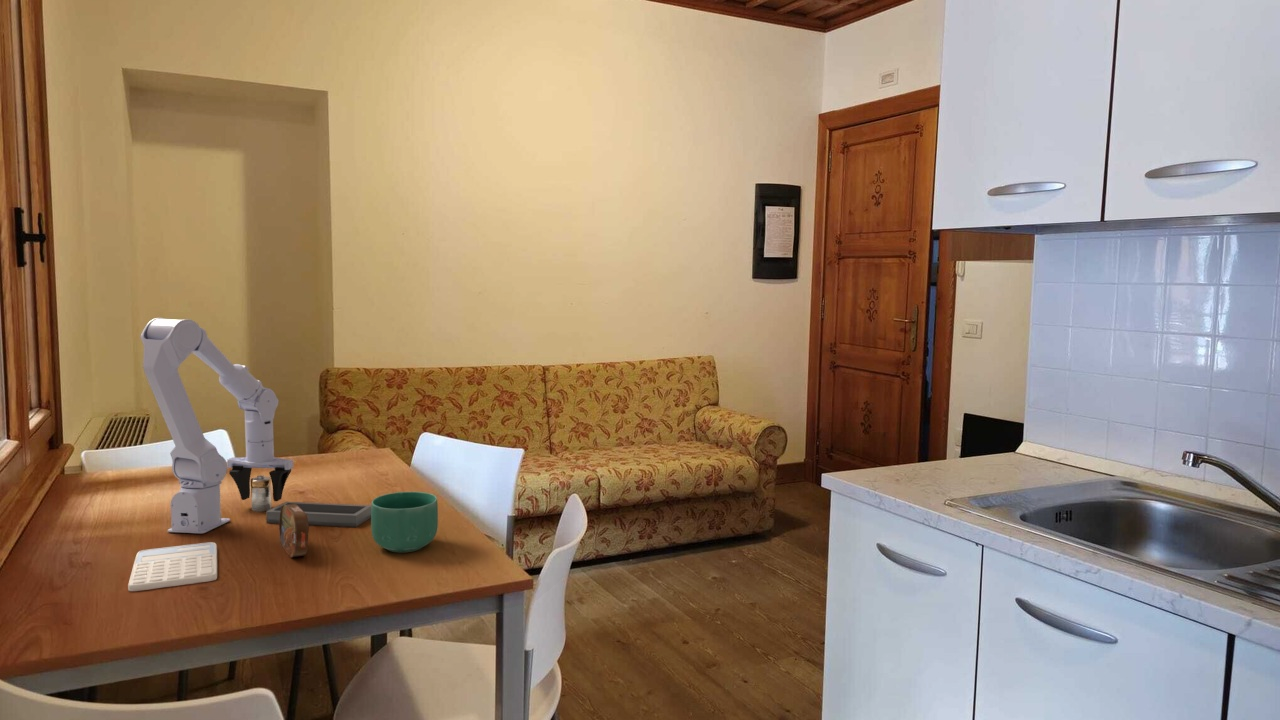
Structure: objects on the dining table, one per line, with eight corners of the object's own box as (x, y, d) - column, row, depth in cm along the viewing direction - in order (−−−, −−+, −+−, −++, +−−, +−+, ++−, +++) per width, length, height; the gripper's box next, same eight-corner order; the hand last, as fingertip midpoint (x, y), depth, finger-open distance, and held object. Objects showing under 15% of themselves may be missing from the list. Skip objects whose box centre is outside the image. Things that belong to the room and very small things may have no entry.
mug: (443, 553, 160) (442, 504, 159) (374, 560, 155) (374, 511, 154) (429, 529, 175) (429, 484, 174) (366, 535, 170) (366, 489, 169)
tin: (278, 541, 165) (277, 500, 164) (295, 539, 167) (294, 498, 166) (293, 563, 153) (292, 519, 152) (312, 560, 154) (310, 516, 154)
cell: (265, 511, 185) (264, 478, 185) (247, 511, 186) (246, 477, 185) (275, 506, 190) (274, 474, 189) (258, 506, 190) (257, 473, 189)
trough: (356, 527, 175) (356, 515, 175) (266, 522, 177) (266, 511, 177) (372, 516, 183) (372, 505, 183) (286, 512, 185) (286, 501, 185)
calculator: (127, 595, 138) (126, 584, 137) (137, 558, 155) (136, 548, 155) (217, 583, 144) (217, 572, 144) (217, 549, 161) (216, 539, 161)
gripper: (299, 437, 189) (301, 496, 191) (239, 435, 191) (241, 493, 192) (283, 443, 182) (284, 504, 184) (220, 441, 184) (223, 501, 185)
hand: (261, 499), depth 188 cm, fingers open, 7 cm apart
